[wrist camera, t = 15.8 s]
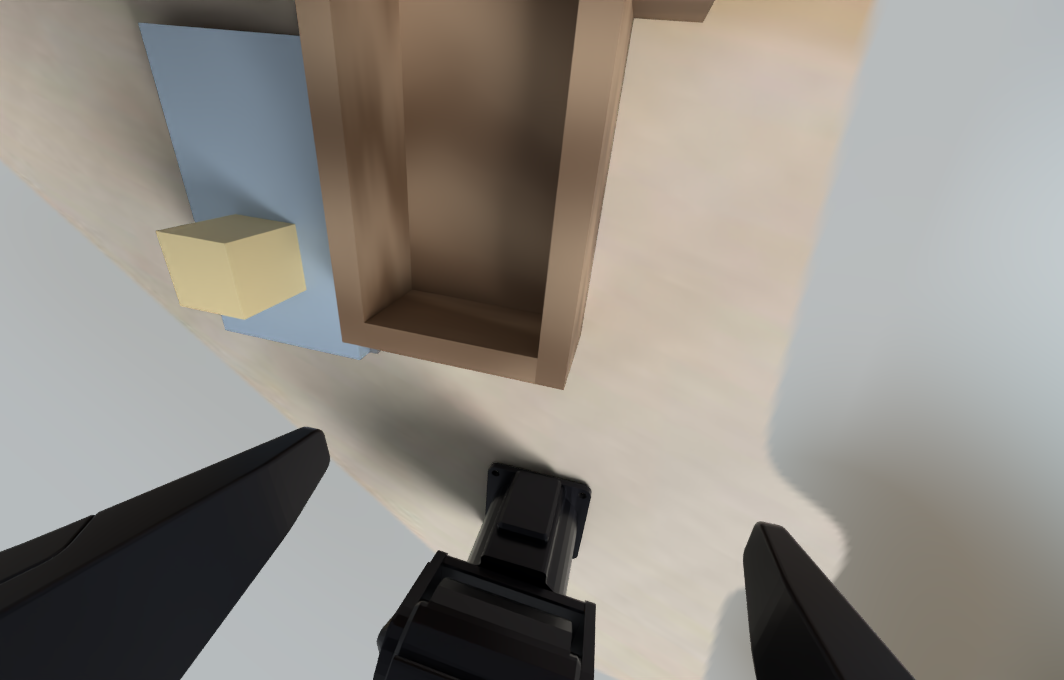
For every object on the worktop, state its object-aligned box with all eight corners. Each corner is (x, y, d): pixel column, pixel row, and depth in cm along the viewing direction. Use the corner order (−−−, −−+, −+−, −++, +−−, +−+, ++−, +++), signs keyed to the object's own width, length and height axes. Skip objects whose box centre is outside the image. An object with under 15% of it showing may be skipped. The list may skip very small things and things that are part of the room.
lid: (369, 351, 25) (310, 400, 20) (239, 323, 26) (158, 362, 22) (337, 42, 17) (236, 14, 13) (161, 27, 19) (17, -3, 15)
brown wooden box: (627, 345, 21) (620, 435, 15) (187, 260, 25) (41, 302, 19) (740, -140, 13) (825, -382, 7) (64, -141, 17) (-254, -287, 11)
